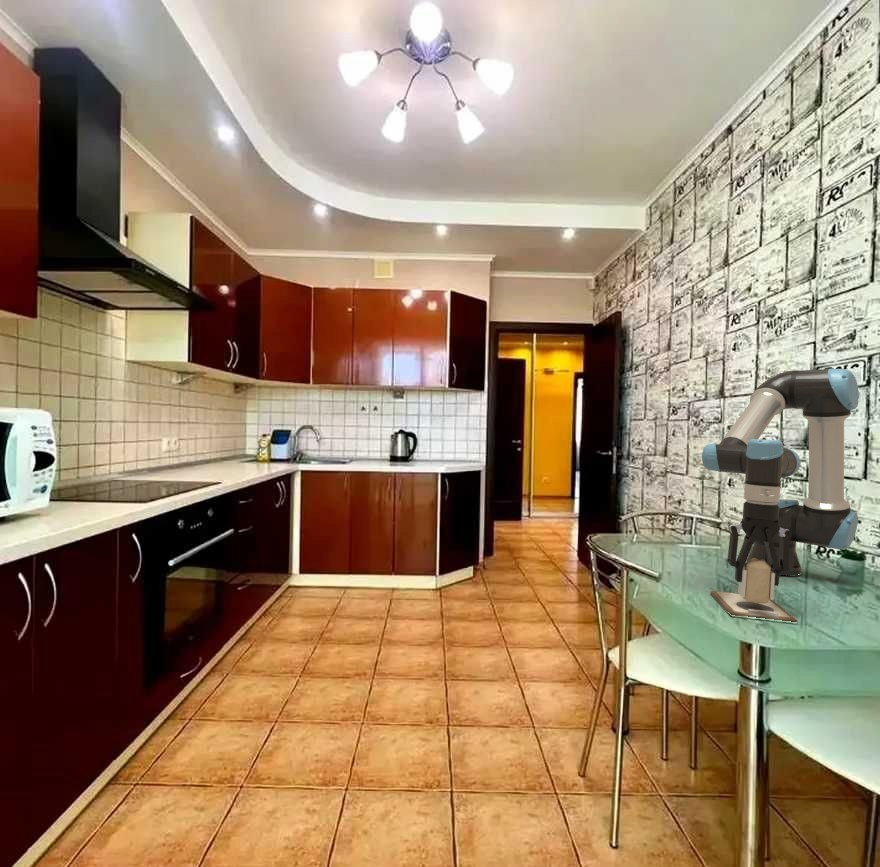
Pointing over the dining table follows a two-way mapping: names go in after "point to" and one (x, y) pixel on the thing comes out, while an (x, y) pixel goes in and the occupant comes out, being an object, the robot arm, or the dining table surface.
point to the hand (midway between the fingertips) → (755, 596)
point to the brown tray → (751, 607)
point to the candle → (757, 581)
